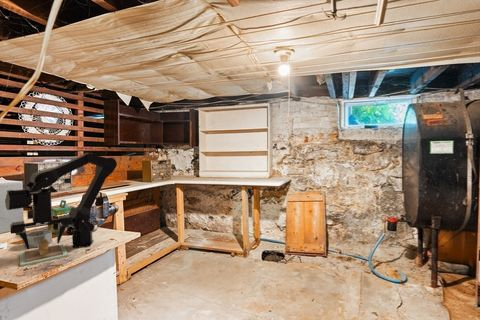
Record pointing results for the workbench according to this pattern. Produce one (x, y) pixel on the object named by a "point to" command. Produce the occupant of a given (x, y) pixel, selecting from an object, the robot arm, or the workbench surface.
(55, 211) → the green lantern
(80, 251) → the workbench surface
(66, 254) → the mat
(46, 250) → the cover
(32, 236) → the bowl
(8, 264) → the workbench surface
